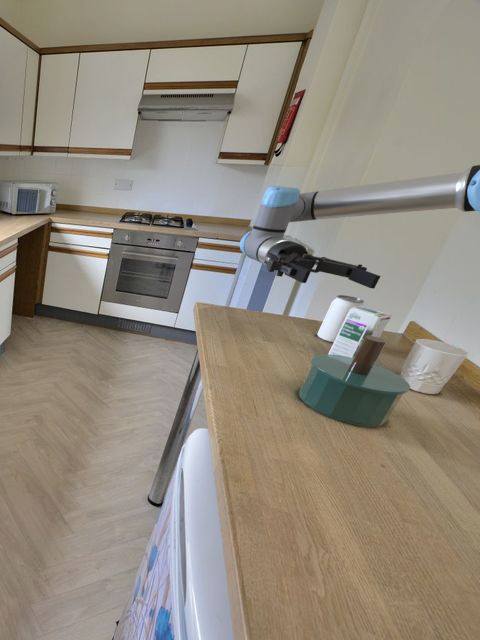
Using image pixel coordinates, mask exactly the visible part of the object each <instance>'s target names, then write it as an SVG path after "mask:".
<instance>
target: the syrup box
mask: <svg viewBox="0 0 480 640" xmlns="http://www.w3.org/2000/svg"><path fill="white" fill-rule="evenodd" d="M392 315H393V314H392V313H387V312H384V311H381V310H377V309H373V308H370V307H367V306H364V305H363V306H357V307H353V308H351V309H350V310H349V312H348V314H347V316H346V318H345V320H344V322H343V325H342V327H341V329H340V331H339V333H338V335H337V337H336V339H335V341H334V343H332V345H331V347H330V349H329V352H328V353H327V354H332V355H340V356H346V357H351V358H354V357H355V355H356V353H357V351H358V349H359V347H360V345H361V343H362V341H363V340H364V338H365V336H374V337H378V338H381V336H382V334H383V332H384V331H385V329H386V327H387V325H388V323H389V322H390V319H391V318H392V317H393V316H392Z"/></svg>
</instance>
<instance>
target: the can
mask: <svg viewBox="0 0 480 640" xmlns="http://www.w3.org/2000/svg"><path fill="white" fill-rule="evenodd" d="M364 303H365V300H363V299H361V298H359V297H355V296H350V295H343V294H338V295H337V296H336V298H334V299H333V300H332V302H331V304H330V306H329V308H328V309H327V312H326V314H325V316H324V318H323V321H322V323H321V325H320V327H319V329H318V332H317V334H316V335H317V337H318V338H319V339H320V340H323V341H325V342H328V343H332V344H333V343H334V341H335V339H336V337H337V335H338V333H339V331H340V329H341V327H342V325H343V322H344V320H345V318H346V316H347V314H348V312H349V310H350V309H351V308H353V307H357V306H364Z"/></svg>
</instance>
